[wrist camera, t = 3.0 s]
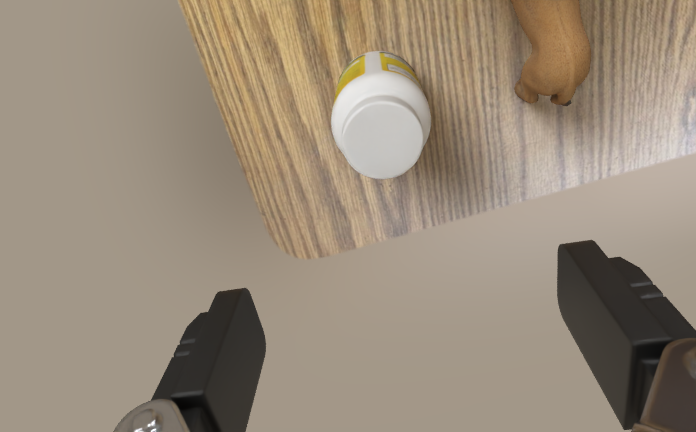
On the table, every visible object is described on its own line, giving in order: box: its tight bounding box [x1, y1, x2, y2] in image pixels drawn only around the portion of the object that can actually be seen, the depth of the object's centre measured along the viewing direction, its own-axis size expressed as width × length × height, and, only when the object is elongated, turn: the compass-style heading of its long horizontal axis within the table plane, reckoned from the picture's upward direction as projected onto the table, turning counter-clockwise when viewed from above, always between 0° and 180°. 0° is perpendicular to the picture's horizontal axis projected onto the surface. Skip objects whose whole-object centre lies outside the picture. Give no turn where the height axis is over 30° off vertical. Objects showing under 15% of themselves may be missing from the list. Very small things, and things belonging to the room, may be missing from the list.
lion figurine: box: [511, 0, 591, 106], centre depth 25 cm, size 15×5×9 cm, turn 35°
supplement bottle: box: [331, 51, 431, 179], centre depth 28 cm, size 5×5×10 cm
